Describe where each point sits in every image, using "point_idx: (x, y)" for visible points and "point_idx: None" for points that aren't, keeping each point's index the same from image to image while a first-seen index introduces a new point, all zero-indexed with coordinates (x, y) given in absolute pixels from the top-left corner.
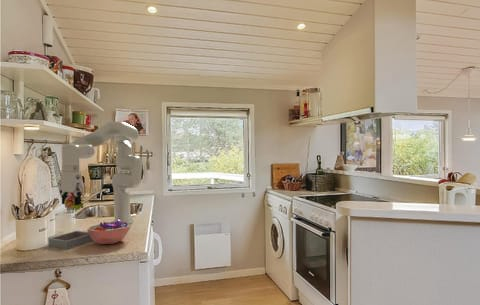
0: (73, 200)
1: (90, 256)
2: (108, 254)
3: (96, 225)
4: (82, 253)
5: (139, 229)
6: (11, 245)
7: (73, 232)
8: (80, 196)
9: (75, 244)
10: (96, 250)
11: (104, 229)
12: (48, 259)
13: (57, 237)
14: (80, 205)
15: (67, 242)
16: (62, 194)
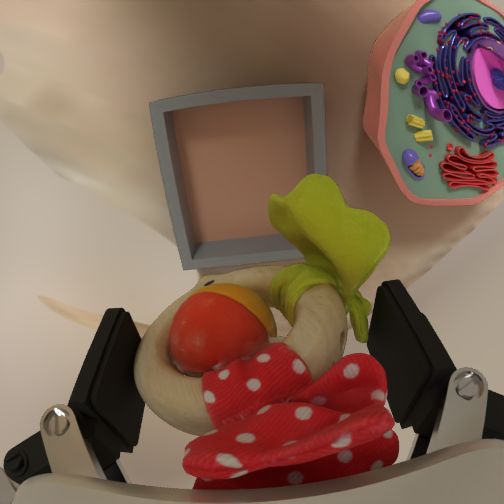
0: (249, 340)
1: (457, 241)
2: (492, 204)
3: (409, 122)
4: (417, 236)
5: None
6: (71, 307)
7: (166, 131)
8: (460, 378)
9: None
10: None
11: (492, 170)
12: None
13: (186, 229)
14: (318, 224)
15: None
16: (118, 469)
